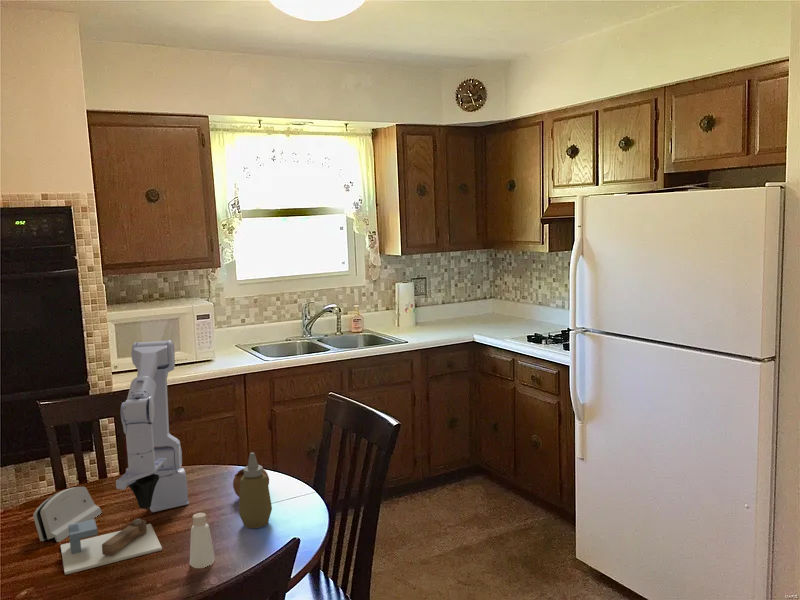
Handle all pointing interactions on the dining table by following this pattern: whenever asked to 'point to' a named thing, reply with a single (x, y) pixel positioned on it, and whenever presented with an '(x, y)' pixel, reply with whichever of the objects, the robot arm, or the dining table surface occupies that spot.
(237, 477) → the onion
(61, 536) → the white rounded block
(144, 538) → the keeper board
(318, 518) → the dining table surface
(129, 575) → the dining table surface
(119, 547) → the link arm
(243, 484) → the squeeze bottle
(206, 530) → the pepper shaker
